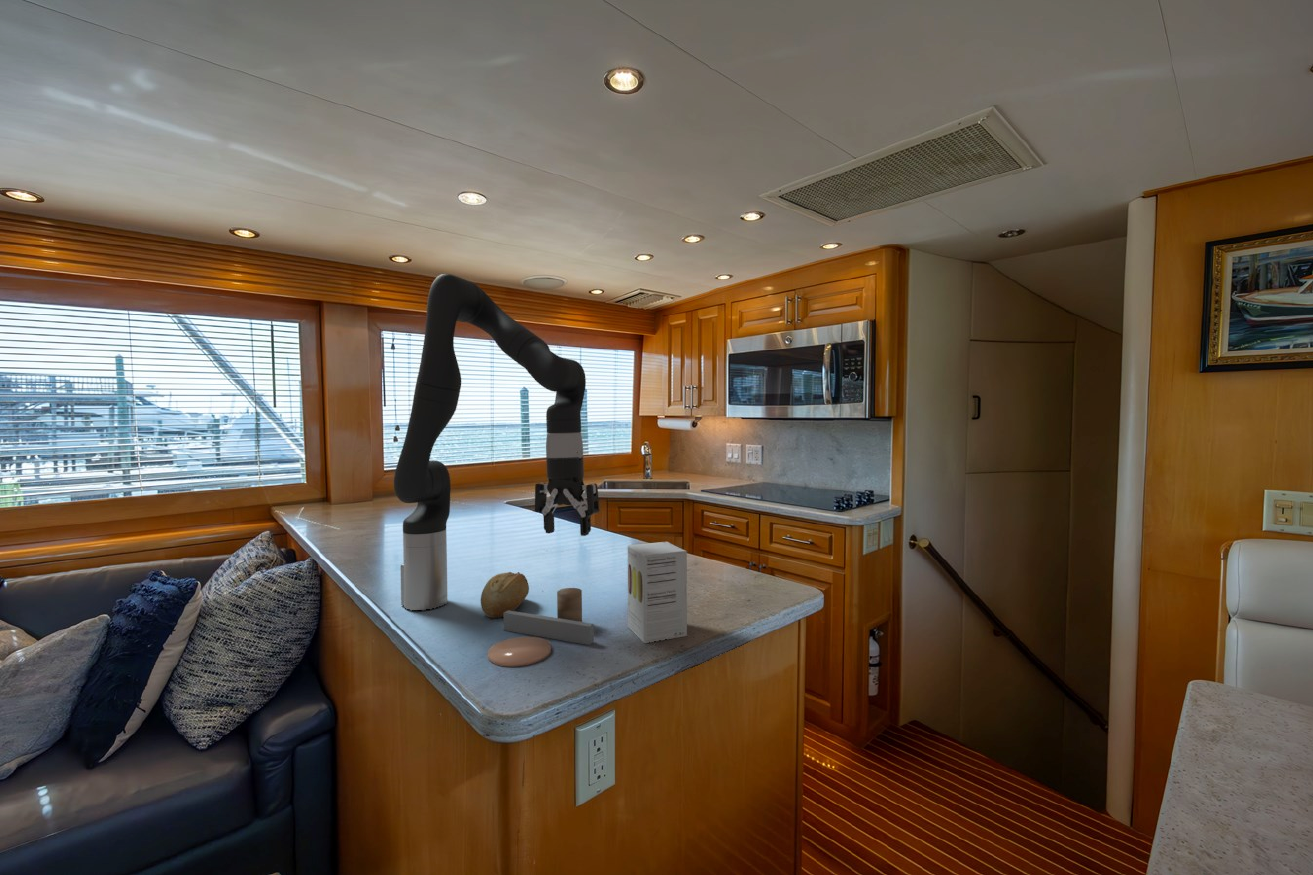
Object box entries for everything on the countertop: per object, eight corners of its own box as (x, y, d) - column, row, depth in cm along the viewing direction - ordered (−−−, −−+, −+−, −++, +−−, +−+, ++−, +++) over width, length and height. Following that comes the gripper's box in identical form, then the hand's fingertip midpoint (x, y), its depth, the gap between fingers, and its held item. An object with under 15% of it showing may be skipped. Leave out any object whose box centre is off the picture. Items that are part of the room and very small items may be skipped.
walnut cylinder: (552, 627, 108) (552, 593, 108) (566, 619, 113) (565, 586, 113) (573, 631, 106) (573, 596, 106) (586, 622, 111) (586, 589, 111)
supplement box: (626, 627, 108) (625, 544, 108) (668, 620, 112) (667, 540, 112) (644, 644, 99) (643, 554, 99) (688, 636, 103) (687, 549, 103)
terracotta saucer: (474, 660, 93) (474, 655, 93) (514, 637, 103) (514, 633, 103) (526, 671, 89) (526, 666, 89) (562, 646, 99) (562, 641, 99)
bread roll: (536, 598, 128) (535, 565, 127) (517, 620, 113) (517, 583, 112) (496, 598, 128) (496, 565, 128) (473, 620, 113) (472, 583, 113)
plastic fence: (503, 629, 107) (503, 612, 107) (508, 627, 109) (508, 610, 109) (589, 645, 99) (589, 626, 99) (593, 642, 101) (593, 623, 101)
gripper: (525, 456, 109) (527, 535, 109) (584, 456, 103) (587, 539, 103) (547, 454, 116) (549, 529, 116) (604, 454, 110) (606, 532, 110)
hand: (567, 533), depth 109 cm, fingers open, 8 cm apart
